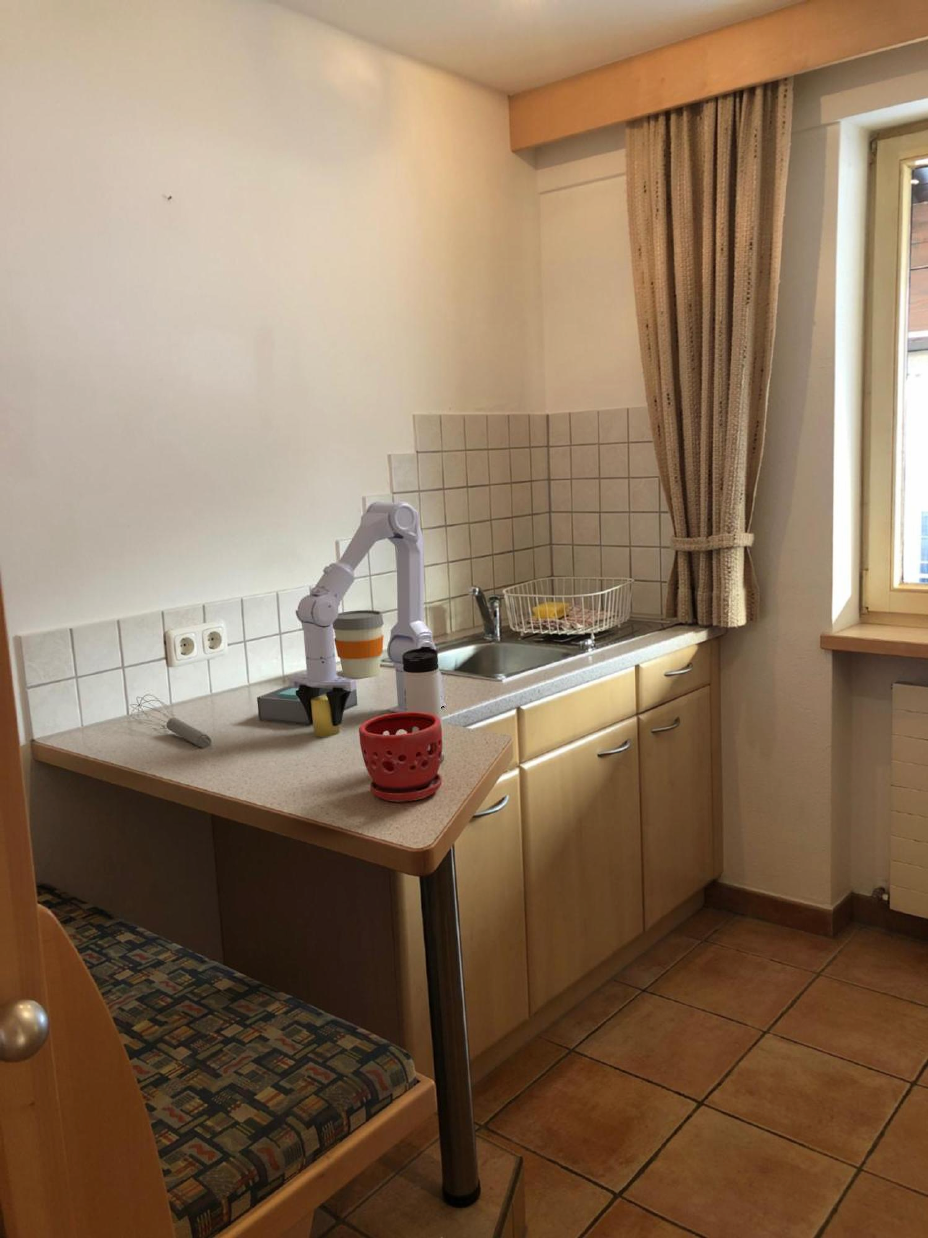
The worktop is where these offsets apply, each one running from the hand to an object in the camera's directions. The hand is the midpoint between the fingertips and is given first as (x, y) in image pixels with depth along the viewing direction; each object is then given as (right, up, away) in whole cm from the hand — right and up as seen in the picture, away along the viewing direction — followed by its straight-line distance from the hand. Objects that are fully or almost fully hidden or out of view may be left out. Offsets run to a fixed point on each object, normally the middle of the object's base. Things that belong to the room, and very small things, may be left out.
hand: (325, 723), depth 201 cm
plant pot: (+18, -8, -37) cm, 41 cm away
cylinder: (0, -2, 0) cm, 2 cm away
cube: (-8, +1, +13) cm, 15 cm away
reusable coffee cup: (+2, +7, +51) cm, 51 cm away
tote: (-6, +1, +17) cm, 18 cm away
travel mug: (+21, -5, -20) cm, 29 cm away
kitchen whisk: (-32, -3, +7) cm, 32 cm away
